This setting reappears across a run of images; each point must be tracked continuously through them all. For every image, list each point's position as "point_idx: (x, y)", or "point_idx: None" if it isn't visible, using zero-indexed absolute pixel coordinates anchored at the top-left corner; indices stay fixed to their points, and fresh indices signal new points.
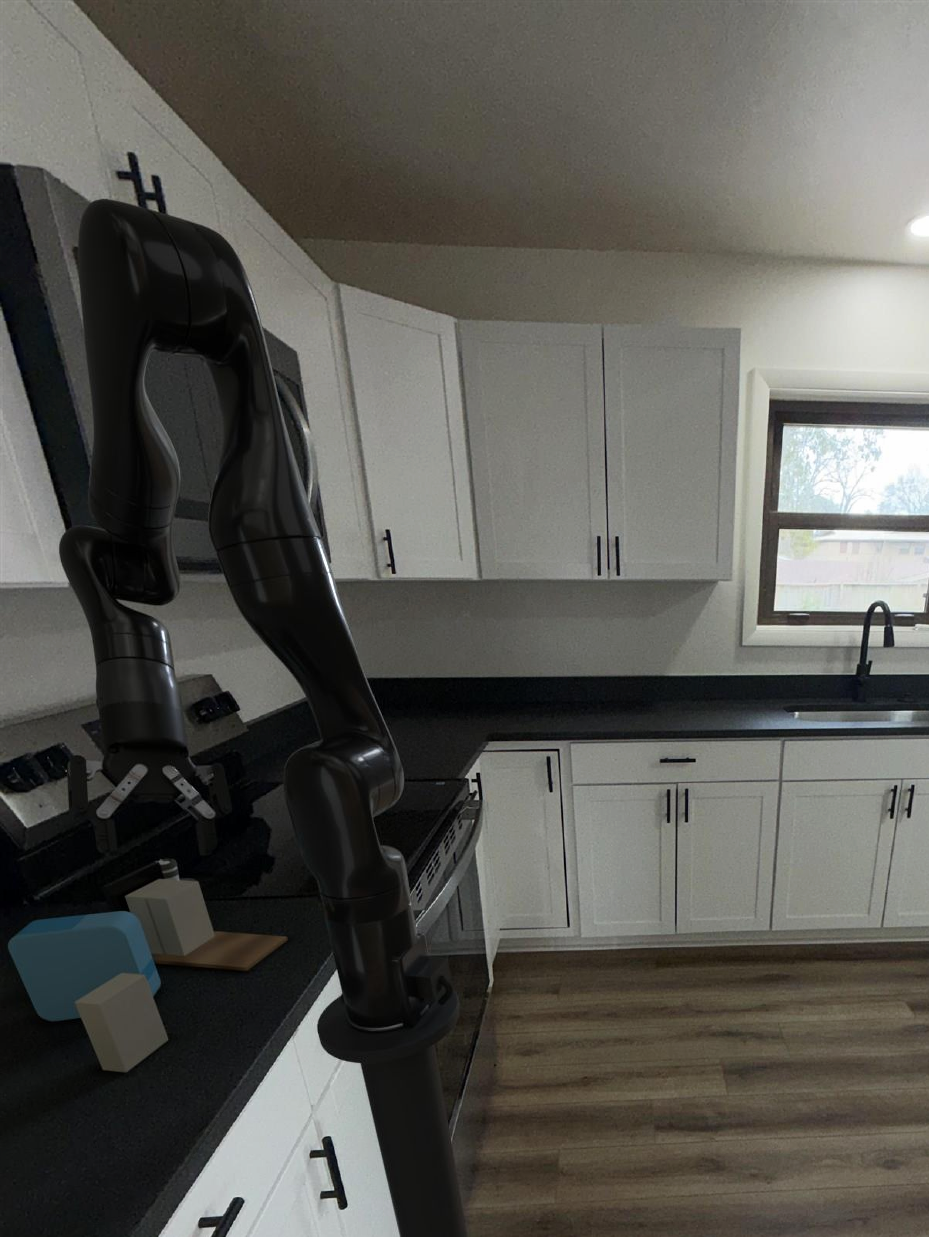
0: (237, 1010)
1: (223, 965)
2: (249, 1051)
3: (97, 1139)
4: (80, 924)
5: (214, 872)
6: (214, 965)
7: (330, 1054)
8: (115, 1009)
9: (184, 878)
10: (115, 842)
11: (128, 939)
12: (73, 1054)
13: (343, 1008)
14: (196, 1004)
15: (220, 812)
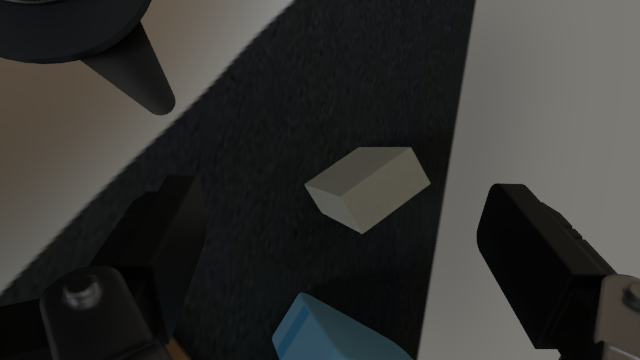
0: (210, 192)
1: (177, 346)
2: (237, 67)
3: (409, 40)
4: None
5: None
6: (188, 358)
7: None
8: (383, 157)
9: None
10: (521, 201)
11: (328, 344)
12: (388, 239)
13: (85, 10)
14: (247, 256)
15: (2, 320)
